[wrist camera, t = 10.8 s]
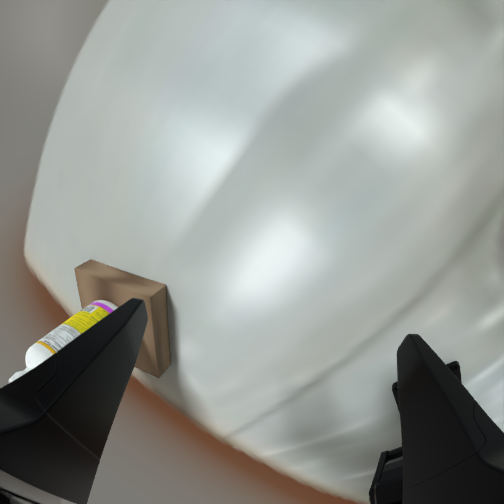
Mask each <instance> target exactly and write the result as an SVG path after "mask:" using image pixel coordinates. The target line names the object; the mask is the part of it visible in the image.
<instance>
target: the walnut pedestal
mask: <svg viewBox="0 0 504 504" xmlns="http://www.w3.org/2000/svg"><path fill="white" fill-rule="evenodd" d="M75 274H76V280H77V286H78V291H79V296H80V301H81V306H82V309H84V308H85V307H86V306H88V305H89V304H91V303H93V302H94V301H97V300H106V301H109V302H111V303H113V304H114V305H116V306H117V307H119V306H121V305H122V304H124V303H125V302H127V301H128V300H129V299H131V298H139V299H143V300H144V301H145V304H146V309H147V314H148V322H147V326H146V329H145V333H144V336H143V340H142V343H141V347H140V350H139V354H138V357H137V361H136V363H135V366H134V367H136V368H138V369H140V370H142V371H145V372H147V373H149V374H151V375H153V376H155V377H158V378H160V376H161V375H162V374H163V373H164V372H165V370H166V369H167V368H168V367H169V366H170V364H171V360H170V348H169V335H168V320H167V300H166V285H165V284H162V283H159V282H156V281H152V280H149V279H146V278H143V277H140V276H137V275H134V274H131V273H128V272H125V271H122V270H119V269H117V268H114V267H111V266H108V265H105V264H102V263H99V262H97V261H94V260H89V261H87V262H85V263H83V264H81V265H79V266H78V267H76V268H75Z"/></svg>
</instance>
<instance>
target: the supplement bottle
mask: <svg viewBox="0 0 504 504" xmlns="http://www.w3.org/2000/svg"><path fill="white" fill-rule="evenodd" d="M117 308H118V307H117V306H116V305H114V304H113V303H111V302H109V301H106V300H97V301H94V302H93V303H91V304H89V305H88V306H86V307H85V308H84V309H82V310H81V311H79V312H78V313H76V314H75V315H74V316H72V317H71V318H69V319H68V320H67V321H65V322H64V323H63V324H61V325H60V326H58V327H57V328H56V329H54V330H53V331H51V332H50V333H49V334H47V335H46V336H45V337H43V338H42V339H40V340H39V341H38V342H36V343H35V344H34V345H32V346H31V347H30V348H29V349H28V351H27V353H26V366H27V368H26V369H25V370H24V371H20V372H16V373H15V374H14V375H13V376H12V377H11V378H10V379H9V383H10V382H12V381H14V380H15V379H17V378H19V377H20V376H22V375H24V374H25V373H27V372H28V371H30V370H32V369H33V368H35V367H36V366H38V365H39V364H41V363H42V362H43V361H45V360H46V359H48V358H49V357H50V356H52V355H53V354H54V353H57V351H59V350H60V349H61V348H63V347H64V346H65V345H67V344H68V343H69V342H71V341H72V340H73V339H75V338H76V337H78V336H79V335H80V334H82V333H83V332H84V331H86V330H87V329H89V328H90V327H91V326H93V325H94V324H96V323H97V322H98V321H100V320H101V319H103V318H104V317H105V316H107V315H108V314H110V313H111V312H112V311H114V310H115V309H117Z"/></svg>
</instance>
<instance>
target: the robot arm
mask: <svg viewBox="0 0 504 504" xmlns="http://www.w3.org/2000/svg"><path fill="white" fill-rule="evenodd" d="M147 322H148V314H147V309H146V304H145V301H144V300H143V299H139V298H131V299H129V300H128V301H127V302H125V303H124V304H122V305H121V306H119V307H118V308H117V309H115V310H114V311H112V312H111V313H110V314H108V315H107V316H105V317H104V318H103V319H101V320H100V321H98V322H97V323H96V324H94V325H93V326H91V327H90V328H89V329H87V330H86V331H84V332H83V333H82V334H80V335H79V336H78V337H76V338H75V339H73V340H72V341H71V342H69V343H68V344H67V345H65V346H64V347H63V348H61V349H60V350H59V351H57V353H54V354H53V355H52V356H50V357H49V358H48V359H46V360H45V361H43V362H42V363H41V364H39V365H38V366H36V367H35V368H33V369H32V370H30V371H28V372H27V373H25V374H24V375H22V376H20V377H19V378H17V379H15V380H14V381H12V382H10V383H9V384H7V385H6V386H4V387H2V388H0V504H61V503H62V500H63V499H65V500H68V501H71V502H73V503H76V504H87V501H88V498H89V494H90V491H91V488H92V484H93V481H94V478H95V475H96V471H97V468H98V465H99V462H100V460H99V459H101V455H102V452H103V449H104V446H105V444H106V441H107V438H108V435H109V432H110V429H111V426H112V424H113V421H114V418H115V415H116V413H117V410H118V407H119V404H120V402H121V399H122V397H123V394H124V391H125V389H126V386H127V384H128V381H129V379H130V376H131V373H132V371H133V369H134V366H135V363H136V361H137V357H138V354H139V350H140V347H141V343H142V340H143V336H144V333H145V329H146V326H147ZM454 366H455V367H454ZM453 367H454V368H453ZM397 373H398V382H396V383H394V384H393V385H392V391H393V394H394V397H395V400H396V403H397V406H398V409H399V412H400V419H401V432H402V447H399V448H397V449H394V450H391V451H385V452H382V453H381V456H380V460H379V463H378V466H377V469H376V473H375V476H374V479H373V482H372V485H371V488H370V491H369V496H370V498H369V500H370V502H371V504H504V433H503V432H502V431H501V429H500V428H499V427H498V426H497V425H496V424H495V423H494V422H493V421H492V420H491V418H490V417H489V416H488V415H487V414H486V413H485V411H484V410H483V409H482V408H481V407H480V405H479V404H478V403H477V402H476V400H474V398H473V397H472V396H471V394H470V393H469V392H468V391H467V389H466V388H465V387H464V386H463V385H462V383H461V373H460V365H459V363H458V362H457V361H454V362H451V363H449V364H446V365H445V363H444V362H443V361H442V360H441V359H440V358H439V357H438V355H437V354H436V353H435V352H434V351H433V350H432V349H431V348H430V346H429V345H428V344H427V343H426V342H425V341H424V340H423V339H422V338H421V336H420V335H418V334H408V335H407V336H406V337H405V339H404V340H403V342H402V343H401V345H400V346H399V348H398V350H397ZM396 387H398V388H396Z"/></svg>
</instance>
